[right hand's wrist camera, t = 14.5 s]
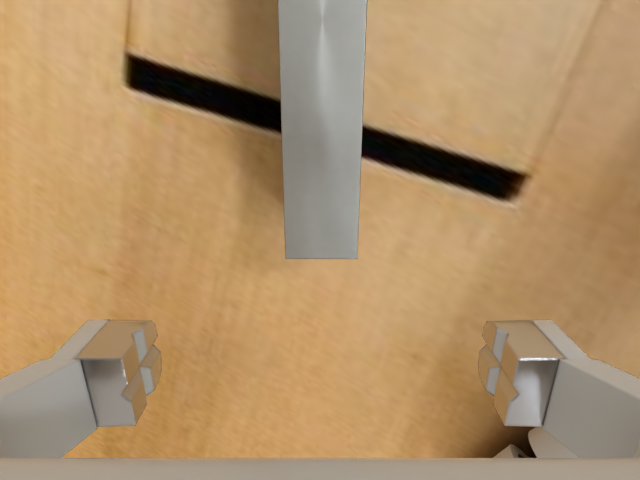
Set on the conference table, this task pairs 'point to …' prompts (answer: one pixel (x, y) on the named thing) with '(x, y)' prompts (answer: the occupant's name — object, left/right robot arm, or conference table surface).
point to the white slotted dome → (539, 447)
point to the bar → (321, 124)
